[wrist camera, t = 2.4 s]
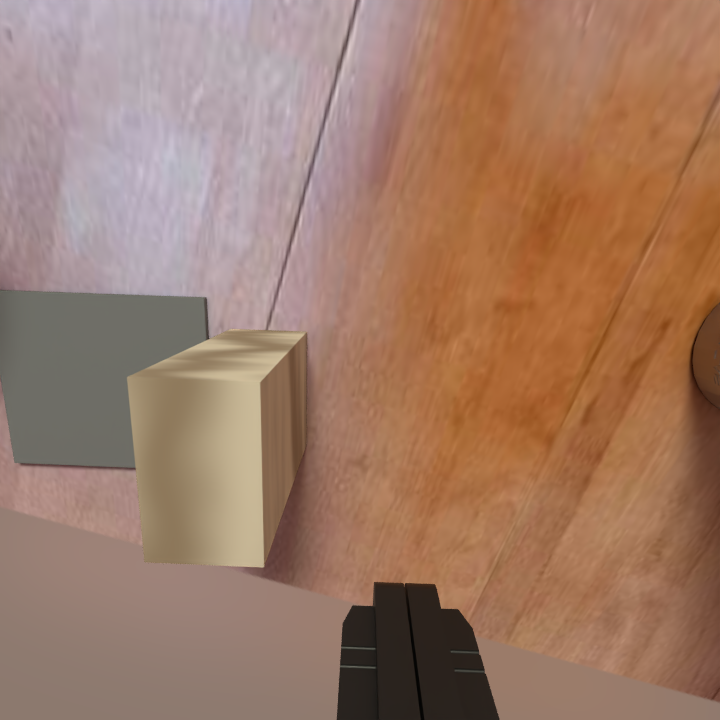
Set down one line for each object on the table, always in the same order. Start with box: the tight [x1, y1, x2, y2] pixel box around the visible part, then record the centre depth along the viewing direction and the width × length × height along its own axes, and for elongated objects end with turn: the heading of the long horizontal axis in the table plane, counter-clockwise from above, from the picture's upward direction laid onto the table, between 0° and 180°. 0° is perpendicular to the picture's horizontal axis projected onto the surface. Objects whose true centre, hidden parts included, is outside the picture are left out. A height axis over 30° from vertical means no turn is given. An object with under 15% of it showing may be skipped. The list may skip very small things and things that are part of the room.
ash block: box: [127, 329, 307, 567], centre depth 22 cm, size 5×8×12 cm, turn 178°
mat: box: [0, 290, 208, 468], centre depth 28 cm, size 14×12×1 cm
